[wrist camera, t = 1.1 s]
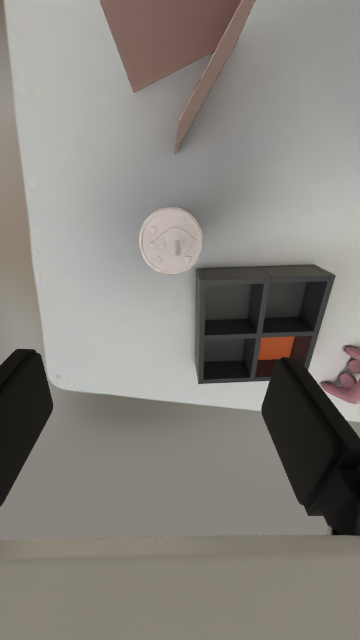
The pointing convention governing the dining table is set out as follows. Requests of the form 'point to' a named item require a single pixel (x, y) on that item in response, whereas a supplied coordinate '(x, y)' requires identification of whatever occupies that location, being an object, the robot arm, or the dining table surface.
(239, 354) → the crate
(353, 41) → the dining table surface
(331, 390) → the video game controller
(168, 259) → the smoothie
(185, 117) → the greeting card
